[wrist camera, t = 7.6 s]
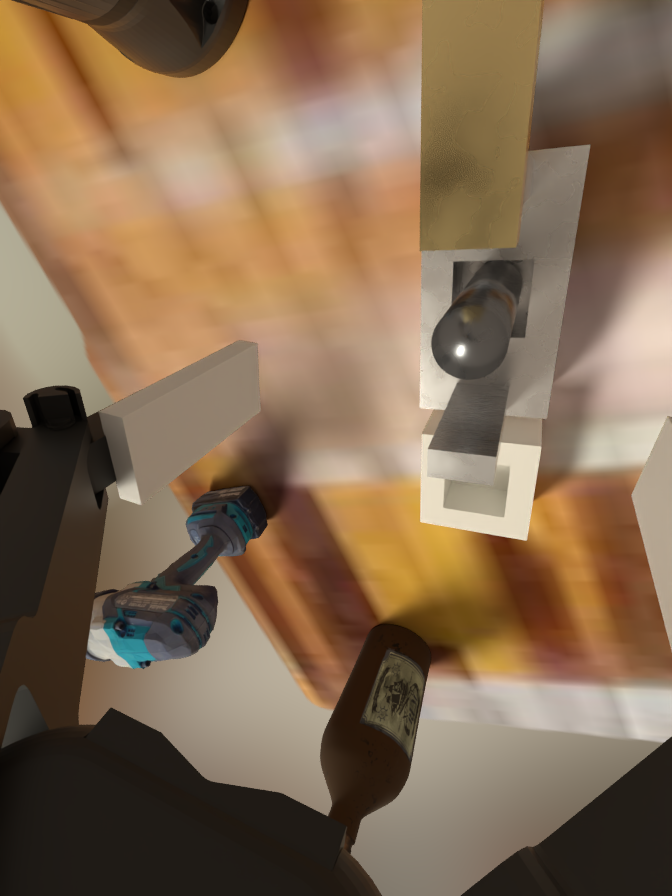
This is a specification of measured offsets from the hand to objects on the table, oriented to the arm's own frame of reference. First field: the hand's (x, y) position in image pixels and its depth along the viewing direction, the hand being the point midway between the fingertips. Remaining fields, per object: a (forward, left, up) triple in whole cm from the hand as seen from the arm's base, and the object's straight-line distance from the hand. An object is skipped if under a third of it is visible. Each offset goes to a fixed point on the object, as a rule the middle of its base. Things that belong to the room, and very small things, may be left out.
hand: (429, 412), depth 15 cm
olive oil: (+51, -9, -29) cm, 59 cm away
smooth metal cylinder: (+1, 0, -27) cm, 27 cm away
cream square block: (+18, 0, -29) cm, 34 cm away
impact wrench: (+31, -33, -29) cm, 54 cm away
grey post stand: (+1, 0, -29) cm, 29 cm away
